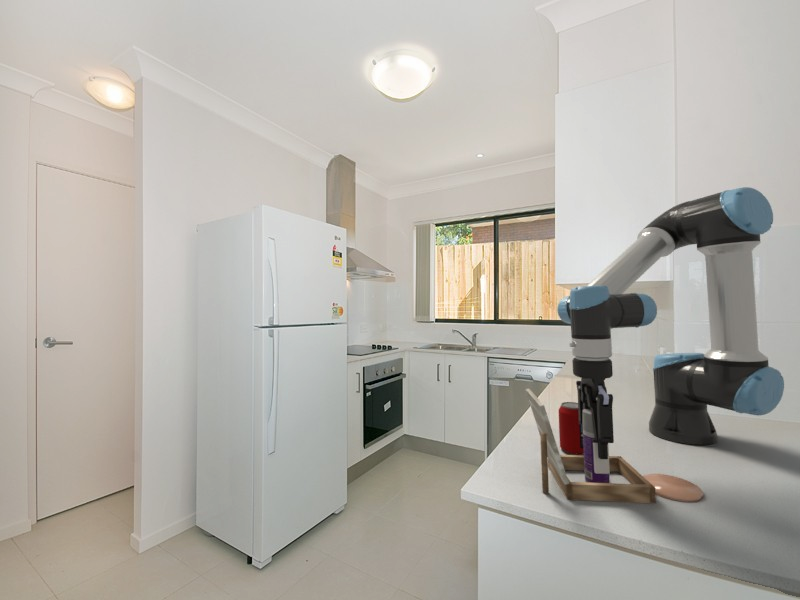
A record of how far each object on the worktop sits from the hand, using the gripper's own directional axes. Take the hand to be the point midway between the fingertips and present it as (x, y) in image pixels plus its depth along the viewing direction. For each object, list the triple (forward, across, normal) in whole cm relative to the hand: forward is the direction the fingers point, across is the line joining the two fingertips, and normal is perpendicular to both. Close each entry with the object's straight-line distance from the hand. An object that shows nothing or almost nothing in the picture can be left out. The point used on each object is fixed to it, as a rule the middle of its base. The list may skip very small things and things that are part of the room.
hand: (596, 466), depth 77 cm
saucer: (+4, +1, +14) cm, 14 cm away
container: (+3, 0, 0) cm, 3 cm away
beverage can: (+4, -17, +1) cm, 17 cm away
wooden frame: (+3, 0, -2) cm, 4 cm away
